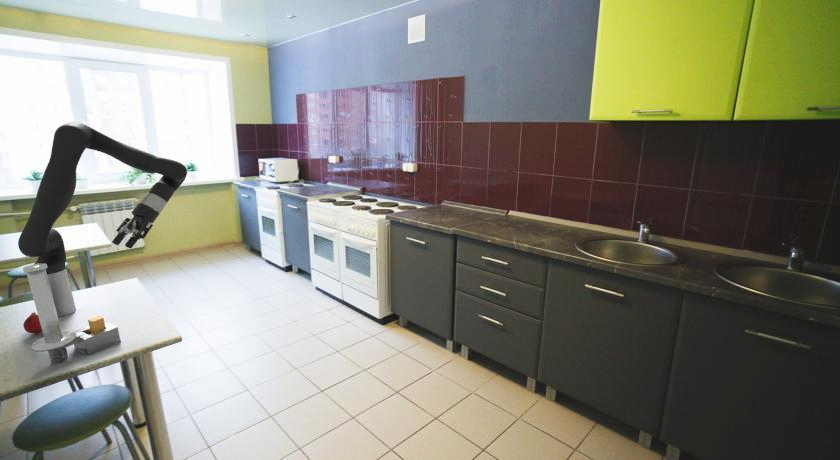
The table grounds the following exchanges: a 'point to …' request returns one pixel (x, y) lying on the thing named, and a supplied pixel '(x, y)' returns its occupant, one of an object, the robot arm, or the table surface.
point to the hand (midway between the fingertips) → (121, 245)
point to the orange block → (96, 324)
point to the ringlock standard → (50, 325)
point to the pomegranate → (32, 324)
